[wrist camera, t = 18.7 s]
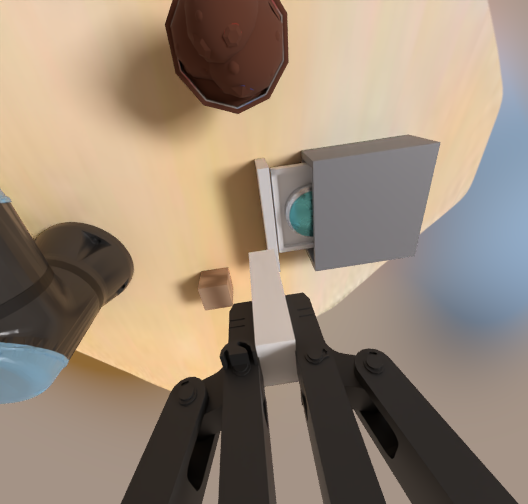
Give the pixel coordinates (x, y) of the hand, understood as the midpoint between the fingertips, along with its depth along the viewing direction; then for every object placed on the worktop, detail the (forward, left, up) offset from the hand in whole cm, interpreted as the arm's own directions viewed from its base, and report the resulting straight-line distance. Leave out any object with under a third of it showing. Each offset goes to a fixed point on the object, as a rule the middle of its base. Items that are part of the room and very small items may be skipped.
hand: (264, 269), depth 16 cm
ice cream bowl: (0, +13, -27) cm, 30 cm away
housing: (+16, -8, -26) cm, 32 cm away
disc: (+9, -8, -25) cm, 27 cm away
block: (-9, -20, -26) cm, 34 cm away
